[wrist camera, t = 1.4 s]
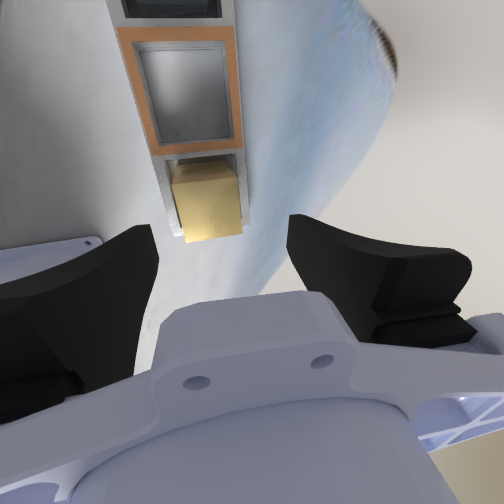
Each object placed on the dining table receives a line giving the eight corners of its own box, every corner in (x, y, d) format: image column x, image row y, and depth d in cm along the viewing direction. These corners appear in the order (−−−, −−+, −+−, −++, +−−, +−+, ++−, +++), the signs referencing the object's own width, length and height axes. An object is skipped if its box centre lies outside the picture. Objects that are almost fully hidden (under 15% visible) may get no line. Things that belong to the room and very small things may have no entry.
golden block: (187, 210, 21) (186, 242, 15) (177, 165, 18) (171, 184, 13) (229, 204, 21) (242, 233, 16) (224, 160, 19) (237, 176, 14)
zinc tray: (175, 227, 21) (173, 237, 19) (70, -150, 11) (45, -206, 9) (245, 216, 22) (250, 225, 20) (216, -134, 12) (220, -181, 10)
